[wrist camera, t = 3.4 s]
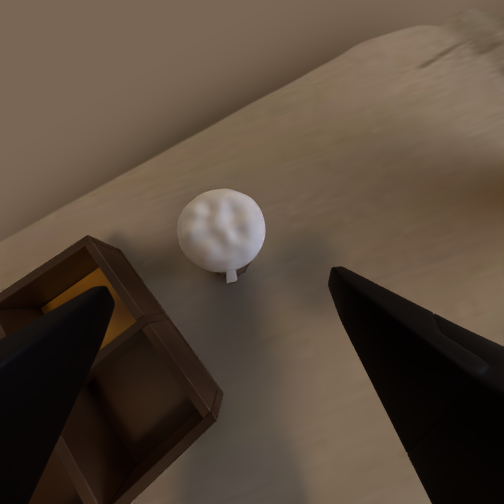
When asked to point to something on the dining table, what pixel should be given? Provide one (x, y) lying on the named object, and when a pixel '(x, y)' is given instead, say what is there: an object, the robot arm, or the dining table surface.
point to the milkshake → (221, 232)
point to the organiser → (116, 382)
